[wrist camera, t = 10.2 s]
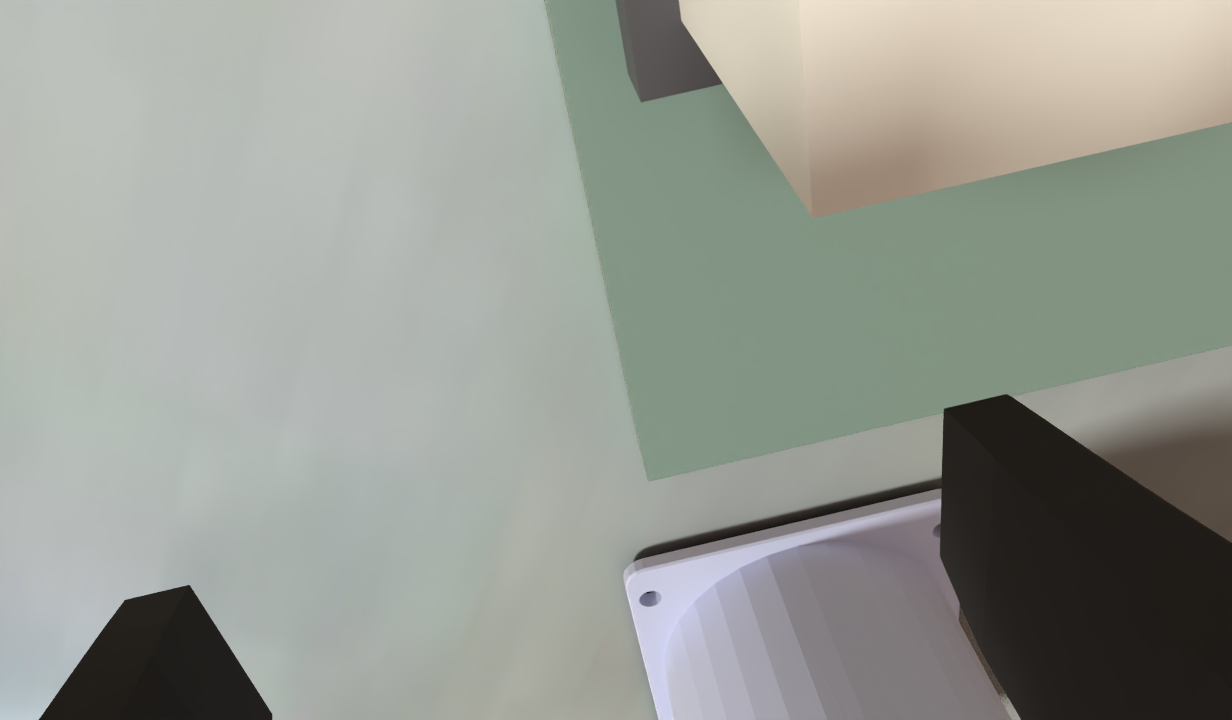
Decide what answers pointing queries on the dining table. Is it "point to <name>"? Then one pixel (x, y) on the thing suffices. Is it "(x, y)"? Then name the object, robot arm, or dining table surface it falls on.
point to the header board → (862, 261)
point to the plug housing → (959, 84)
